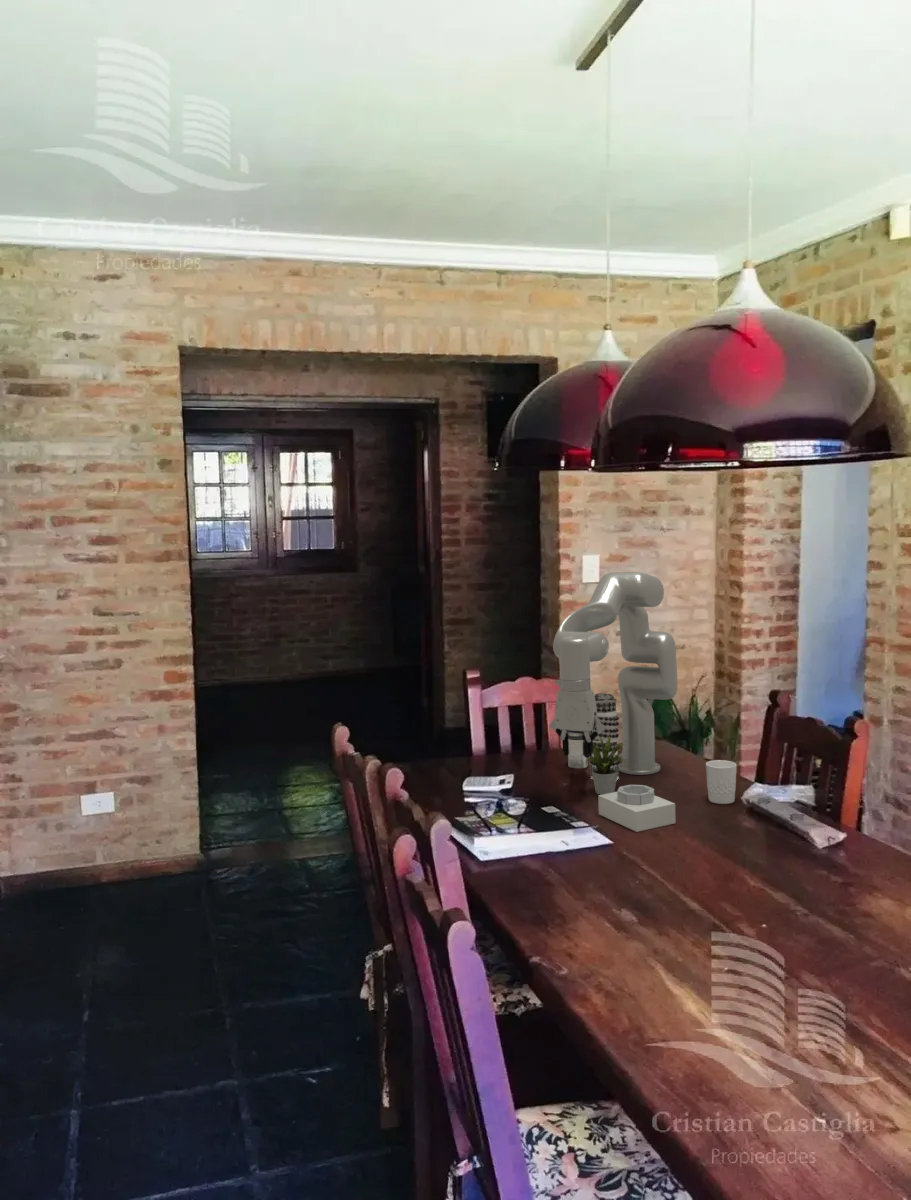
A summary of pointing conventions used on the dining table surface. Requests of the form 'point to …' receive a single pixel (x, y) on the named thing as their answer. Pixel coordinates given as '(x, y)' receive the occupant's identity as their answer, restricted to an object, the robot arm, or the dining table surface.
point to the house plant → (605, 767)
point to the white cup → (721, 781)
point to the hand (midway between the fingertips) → (577, 754)
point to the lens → (576, 749)
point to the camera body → (637, 808)
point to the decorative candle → (606, 726)
